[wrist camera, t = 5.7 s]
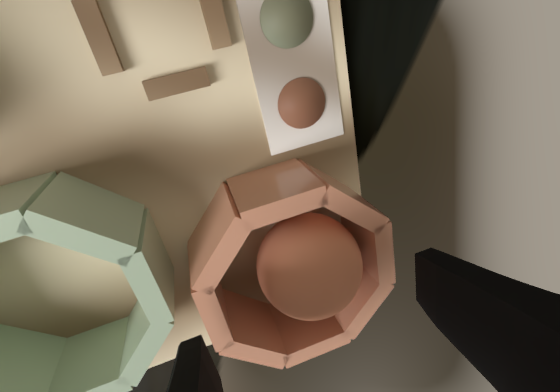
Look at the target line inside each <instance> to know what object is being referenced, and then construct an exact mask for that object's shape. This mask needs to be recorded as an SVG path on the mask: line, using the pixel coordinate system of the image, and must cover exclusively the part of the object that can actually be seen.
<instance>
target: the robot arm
mask: <svg viewBox="0 0 560 392" xmlns="http://www.w3.org/2000/svg"><path fill="white" fill-rule="evenodd" d="M415 272H416V300H417V301H418V302H419V304H420V305H421V307H422V308H423V309H424V311H425V312H426V314H427V315H428V316H429V318H430V319H431V320H432V322H433V323H434V324H435V325H436V327H437V328H438V329H439V330H440V331H441V332H442V333H443V334H444V335H445V336H446V337H447V338H448V339H449V340H450V342H451V343H452V344H453V345H454V346H455V347H456V348H457V349H458V350H459V351H460V352H461V353H462V354H463V355H464V356H465V357H466V358H467V359H468V360H469V361H470V362H471V364H473V366H474V367H475V368H476V369H477V370H478V371H479V372H480V373H481V374H482V375H483V376H484V377H485V378H486V379H487V380H488V381H489V382H490V383H491V384H492V385H493V387H494V388H495V389H496V390H497V391H498V392H560V294H556V293H553V292H550V291H547V290H544V289H541V288H538V287H535V286H531V285H529V284H526V283H523V282H520V281H517V280H514V279H511V278H509V277H506V276H503V275H501V274H498V273H495V272H493V271H490V270H487V269H485V268H482V267H480V266H477V265H475V264H472V263H470V262H467V261H464V260H462V259H459V258H457V257H454V256H452V255H449V254H447V253H444V252H441V251H439V250H436V249H433V248H429V249H426V250H424V251H421V252H419V253H416V254H415ZM166 392H223V388H222V383H221V378H220V376H219V374H218V371H217V369H216V367H215V365H214V362H213V360H212V358H211V356H210V353H209V351H208V349H207V346H206V344H205V342H204V340H203V337H202V335H198V336H196V337H193V338H190V339H188V340H185V341H182V342H181V343H180V344H179V346H178V350H177V354H176V358H175V362H174V366H173V370H172V374H171V377H170V381H169V384H168V388H167V391H166Z"/></svg>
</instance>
